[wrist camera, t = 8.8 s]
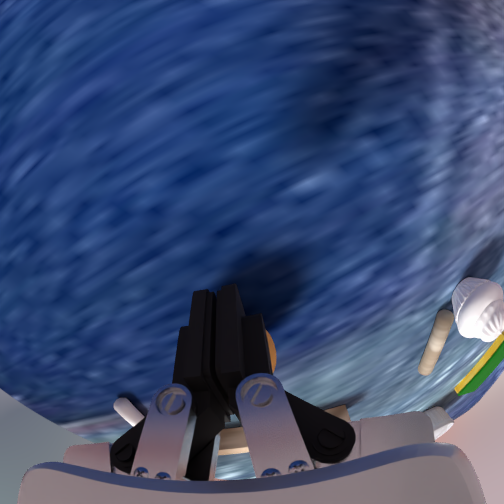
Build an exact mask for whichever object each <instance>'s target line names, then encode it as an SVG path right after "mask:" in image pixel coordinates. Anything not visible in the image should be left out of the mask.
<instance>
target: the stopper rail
mask: <svg viewBox="0 0 504 504" xmlns="http://www.w3.org/2000/svg"><path fill="white" fill-rule="evenodd" d="M324 411H326V412H328V413H330V414H332V415H334V416H336V417H339V418H341V419H343V420H345V421H346V422H350V421H351V420H350V417H349V414H348V411H347V409H346V406H345V405H341V406H338V407H335V408H331V409H327V410H324ZM246 452H249V449H248V445H247V441H246V437H245V434H244V430H243V427H237V428H229V429H223V430H222V431H220V444H219V451H218V455H227V454H237V453H246Z"/></svg>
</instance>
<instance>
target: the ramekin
mask: <svg viewBox="0 0 504 504" xmlns="http://www.w3.org/2000/svg"><path fill="white" fill-rule="evenodd" d="M423 413H425V414H427V415H428V416H429V417H430V418H431V421H432V424H433V430H434V438H435V439H437V438H438V437H440V436H441V435H443V434H444V433H445V432H446V431H447V430H449V429H450V428H451V427H452V425H453V424H454V421H453V419H451V418H450V417H449V415H448V414H447V413H446V412H445V410H444V409H443V408H442V407H433V408H431V409H429V410H427V411H425V412H423Z"/></svg>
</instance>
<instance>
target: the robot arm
mask: <svg viewBox="0 0 504 504" xmlns="http://www.w3.org/2000/svg"><path fill="white" fill-rule="evenodd" d="M233 414H235V415H236V416H237V418H238V420H239V421H240V423H241V424H242V426H243V430H244V434H245V437H246V441H247V445H248V449H249V453H250V456H251V460H252V464H253V467H254V471H255V474H256V478H254V479H243V480H226V481H214V478H215V471H216V464H217V458H218V451H219V444H220V431H222V430H223V429H224V428H225V422H231V421H230V415H233ZM63 460H64V461H63V463H59V462H45V463H40V464H37V465H34V466H32V467H30V468H29V469H28V470H27V471H26V473H25V474H24V476H23V479H22V482H21V486H20V490H19V495H18V502H17V504H486V501H485V497H484V494H483V491H482V488H481V485H480V482H479V479H478V477H477V475H476V472H475V470H474V468H473V466H472V464H471V462H470V461H469V459H468V458H467V456H466V455H465V453H464V452H463V451H462V450H461V449H460V448H458V447H457V446H455V445H452V444H448V443H437V442H435V438H434V430H433V424H432V421H431V418H430V417H429V416H428V415H427V414H425V413H423V412H420V411H413V412H407V413H401V414H395V415H388V416H381V417H372V418H363V419H360V421H350V422H346V421H345V420H343V419H341V418H339V417H336V416H334V415H332V414H330V413H328V412H326V411H324V410H322V409H320V408H318V407H316V406H314V405H312V404H310V403H308V402H306V401H304V400H302V399H300V398H298V397H296V396H294V395H292V394H290V393H288V392H287V391H285V390H284V389H283V386H282V384H281V382H280V381H279V379H277V378H276V377H275V376H273V370H272V364H271V358H270V351H269V345H268V339H267V334H266V329H265V325H264V321H263V317H262V313H260V314H255V315H249V316H246V315H245V312H244V308H243V305H242V302H241V298H240V295H239V291H238V288H237V285H236V284H231V285H226V286H222V288H221V290H219V291H217V299H216V296H215V293H214V292H209V290H208V289H205V290H199V291H194V292H193V297H192V304H191V312H190V319H189V326H184V327H181V328H180V331H179V337H178V344H177V351H176V358H175V365H174V373H173V381H172V384H168V385H165V386H163V387H161V388H160V389H158V391H157V392H156V393H155V394H154V396H153V398H152V401H151V404H150V407H149V410H148V414H147V416H146V417H144V418H143V419H142V420H141V421H140V422H138V423H137V424H136V425H135V426H133V427H132V428H131V429H130V430H129V431H127V432H126V433H125V434H124V435H122V436H121V437H120V438H119V439H117V440H116V441H115V442H114V443H112V444H111V443H110V442H103V443H94V444H84V445H73V446H70V447H69V448H68V449H67V450H66V451H65V453H64V458H63Z"/></svg>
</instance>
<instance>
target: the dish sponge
mask: <svg viewBox="0 0 504 504" xmlns="http://www.w3.org/2000/svg"><path fill="white" fill-rule="evenodd" d="M503 358H504V331H502V334H500V335H499V336H498V338H497V339H496V340H495V342H494V343H493V344H492V346H491V347H490V348H489V349H488V351H487V352H486V353H485V355H484V356H483V357H482V358H481V359H480V361H479V362H478V363H477V364H476V365H475V366H474V368H473V369H472V370H471V371H470V372H469V373H468V374H467V375H466V377H465V378H464V379H463V380H462V381H461V382H460V383H459V384H458V385H457V386H456V387H455V391H456V392H457V393H458V396H460V395H463V394H467V393H470V392H473V391H475V390H476V389H477V388H478V387H479V386H480V385H481V384H482V383H483V382H484V380H485V379H486V378H487V377H488V376H489V375H490V374H491V373H492V372H493V370H494V369H495V368H496V367H497V366H498V365H499V363H500V362H501V361H502V360H503Z"/></svg>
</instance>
